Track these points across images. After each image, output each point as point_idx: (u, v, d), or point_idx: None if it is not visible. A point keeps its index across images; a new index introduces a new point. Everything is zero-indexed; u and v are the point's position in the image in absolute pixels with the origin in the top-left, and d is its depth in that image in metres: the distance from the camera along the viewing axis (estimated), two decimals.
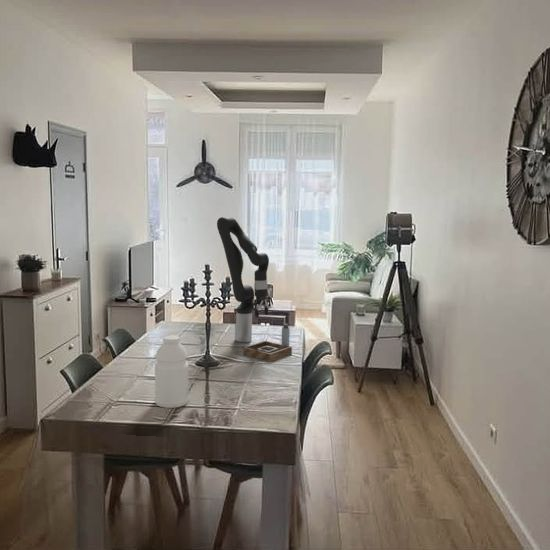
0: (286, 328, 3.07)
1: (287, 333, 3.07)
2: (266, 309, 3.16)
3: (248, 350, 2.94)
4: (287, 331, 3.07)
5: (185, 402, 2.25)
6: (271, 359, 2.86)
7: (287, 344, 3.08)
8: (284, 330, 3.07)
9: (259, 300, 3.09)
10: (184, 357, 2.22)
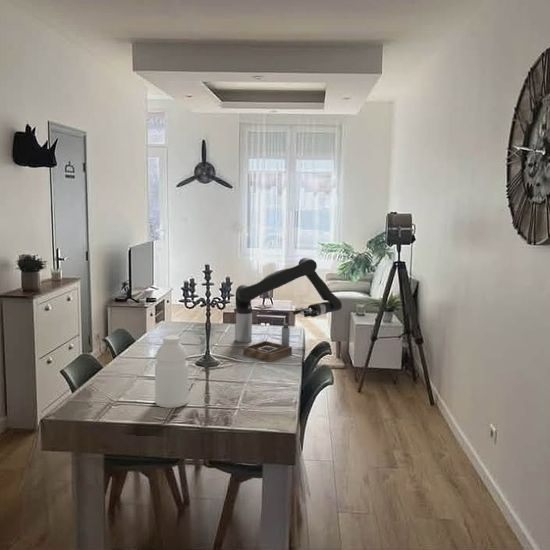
0: (286, 328, 3.07)
1: (287, 333, 3.07)
2: (297, 312, 3.20)
3: (248, 350, 2.94)
4: (287, 331, 3.07)
5: (185, 402, 2.25)
6: (271, 359, 2.86)
7: (287, 344, 3.08)
8: (284, 330, 3.07)
9: None
10: (184, 357, 2.22)
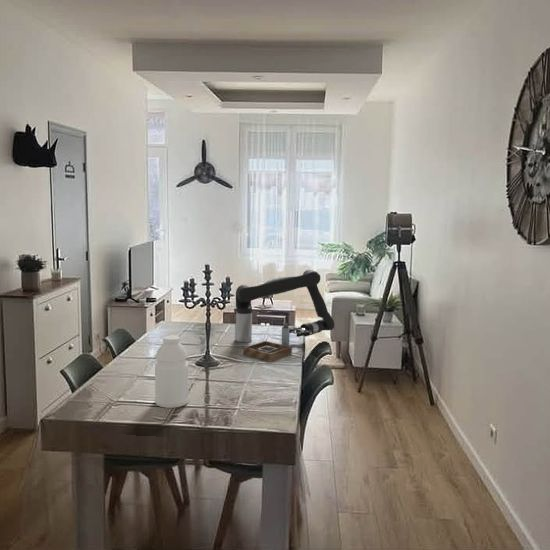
0: (286, 328, 3.07)
1: (287, 333, 3.07)
2: None
3: (248, 350, 2.94)
4: (287, 331, 3.07)
5: (185, 402, 2.25)
6: (271, 359, 2.86)
7: (287, 344, 3.08)
8: (284, 330, 3.07)
9: None
10: (184, 357, 2.22)
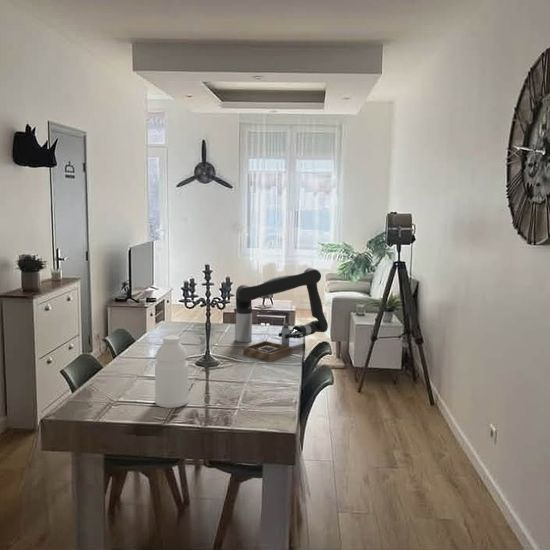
0: (286, 328, 3.07)
1: (287, 333, 3.07)
2: None
3: (248, 350, 2.94)
4: (287, 331, 3.07)
5: (185, 402, 2.25)
6: (271, 359, 2.86)
7: (287, 344, 3.08)
8: (284, 330, 3.07)
9: None
10: (184, 357, 2.22)
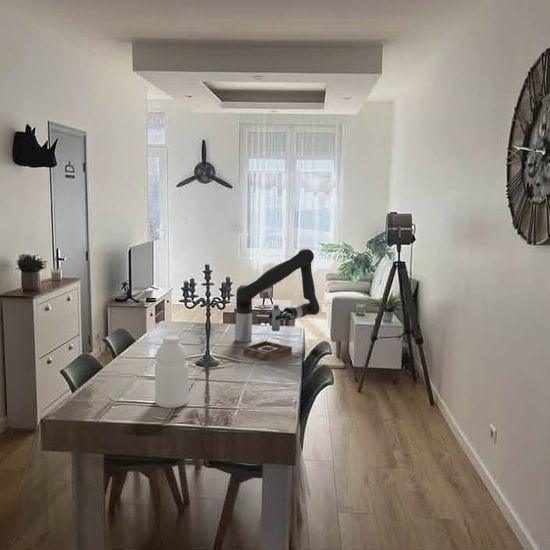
0: (276, 309, 2.98)
1: (277, 314, 2.98)
2: None
3: (248, 350, 2.94)
4: (277, 312, 2.98)
5: (185, 402, 2.25)
6: (271, 359, 2.86)
7: (277, 326, 3.00)
8: (274, 311, 2.98)
9: None
10: (184, 357, 2.22)
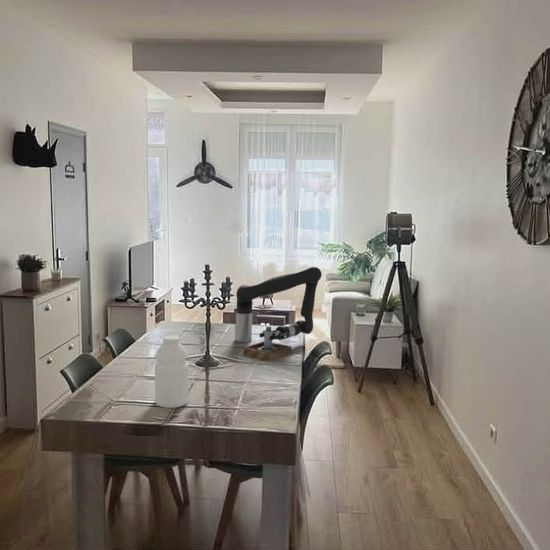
0: (269, 331, 2.95)
1: None
2: None
3: (248, 350, 2.94)
4: (270, 334, 2.95)
5: (185, 402, 2.25)
6: (271, 359, 2.86)
7: (270, 348, 2.96)
8: (267, 333, 2.95)
9: None
10: (184, 357, 2.22)
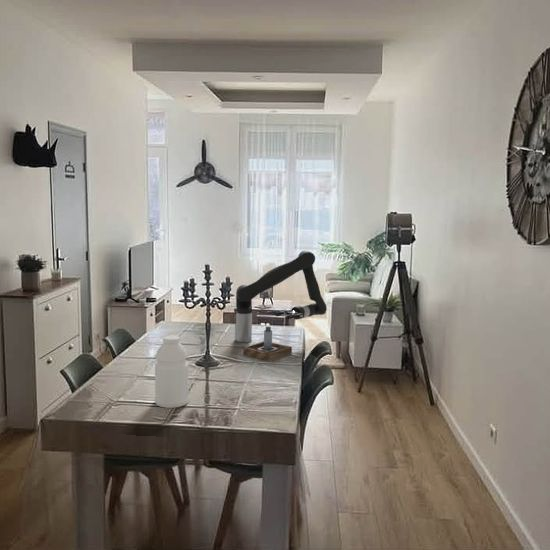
0: (268, 331, 2.95)
1: (269, 336, 2.95)
2: (280, 314, 3.08)
3: (248, 350, 2.94)
4: (269, 334, 2.95)
5: (185, 402, 2.25)
6: (271, 359, 2.86)
7: (269, 348, 2.96)
8: (266, 333, 2.95)
9: None
10: (184, 357, 2.22)
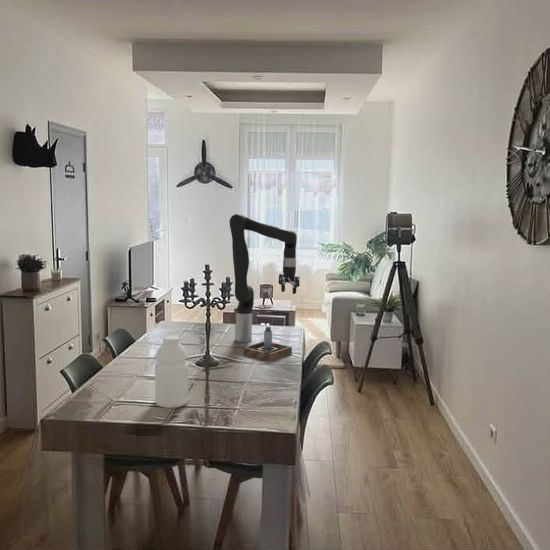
0: (268, 331, 2.95)
1: (269, 336, 2.95)
2: (284, 286, 3.20)
3: (248, 350, 2.94)
4: (269, 334, 2.95)
5: (185, 402, 2.25)
6: (271, 359, 2.86)
7: (269, 348, 2.96)
8: (266, 333, 2.95)
9: None
10: (184, 357, 2.22)
